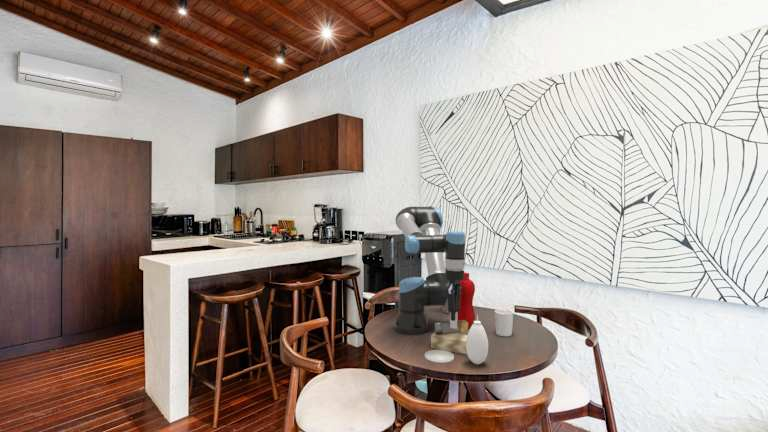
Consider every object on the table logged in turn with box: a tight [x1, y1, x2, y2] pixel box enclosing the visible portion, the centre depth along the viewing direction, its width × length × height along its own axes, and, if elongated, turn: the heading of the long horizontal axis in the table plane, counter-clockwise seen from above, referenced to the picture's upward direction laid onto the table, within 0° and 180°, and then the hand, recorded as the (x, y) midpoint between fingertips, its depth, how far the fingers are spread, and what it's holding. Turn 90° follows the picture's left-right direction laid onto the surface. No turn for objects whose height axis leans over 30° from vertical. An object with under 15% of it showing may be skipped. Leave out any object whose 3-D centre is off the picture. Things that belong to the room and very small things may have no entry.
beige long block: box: [430, 331, 468, 356], centre depth 147 cm, size 20×7×8 cm, turn 62°
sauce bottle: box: [466, 314, 489, 365], centre depth 134 cm, size 8×8×18 cm
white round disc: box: [424, 349, 455, 364], centre depth 140 cm, size 11×11×1 cm
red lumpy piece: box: [457, 272, 476, 328], centre depth 178 cm, size 9×11×25 cm
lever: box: [434, 320, 469, 334], centre depth 152 cm, size 14×4×4 cm, turn 101°
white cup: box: [494, 308, 514, 337], centre depth 165 cm, size 8×8×10 cm
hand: (453, 327), depth 150 cm, fingers closed
